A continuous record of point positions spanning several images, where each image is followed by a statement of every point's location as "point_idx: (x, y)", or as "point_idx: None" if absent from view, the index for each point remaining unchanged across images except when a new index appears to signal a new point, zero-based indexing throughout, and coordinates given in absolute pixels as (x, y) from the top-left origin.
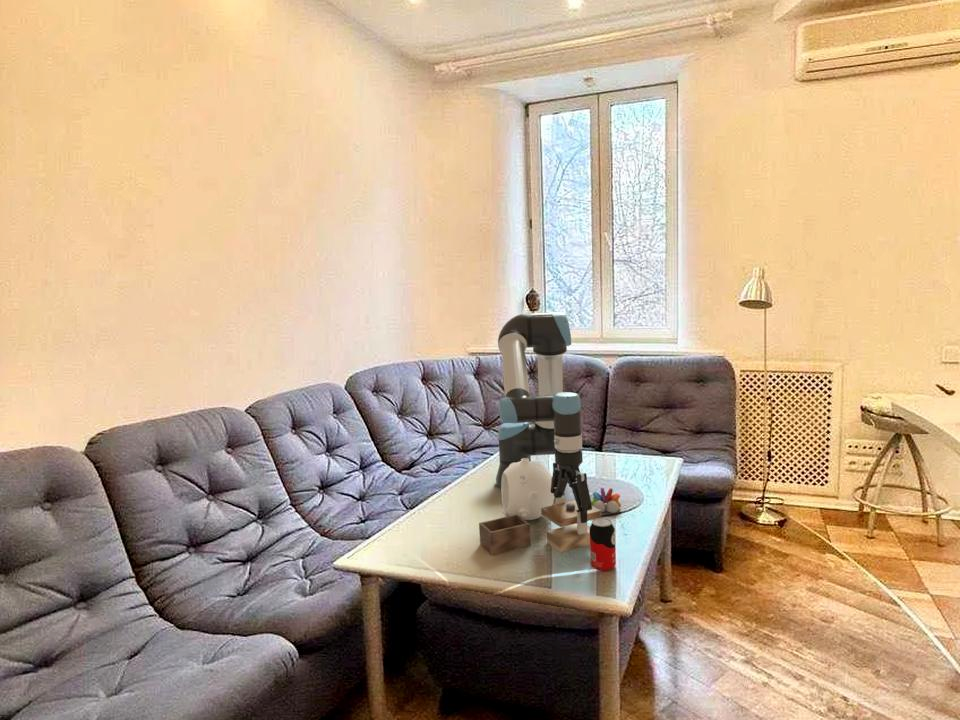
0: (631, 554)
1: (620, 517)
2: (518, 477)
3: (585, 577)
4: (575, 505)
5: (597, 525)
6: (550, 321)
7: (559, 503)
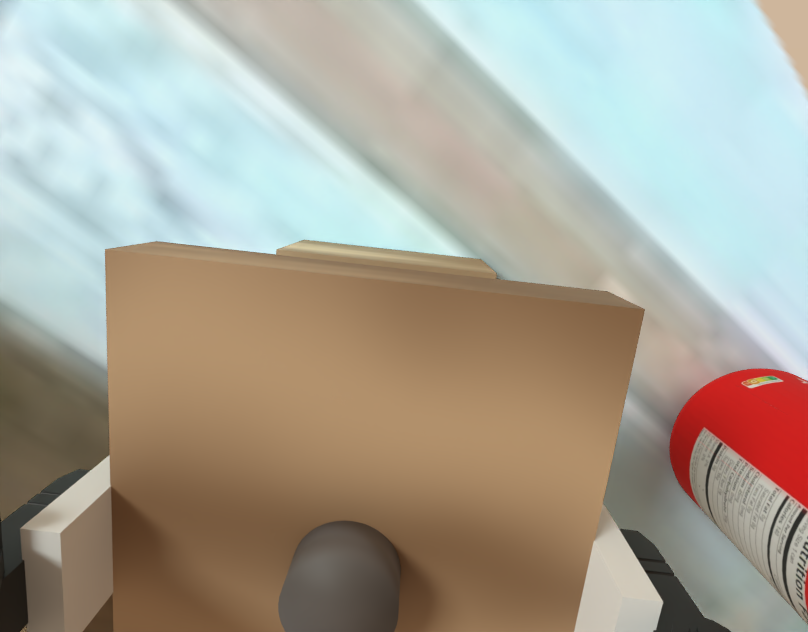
0: (751, 171)
1: None
2: None
3: (752, 583)
4: (274, 449)
5: None
6: None
7: (109, 563)
